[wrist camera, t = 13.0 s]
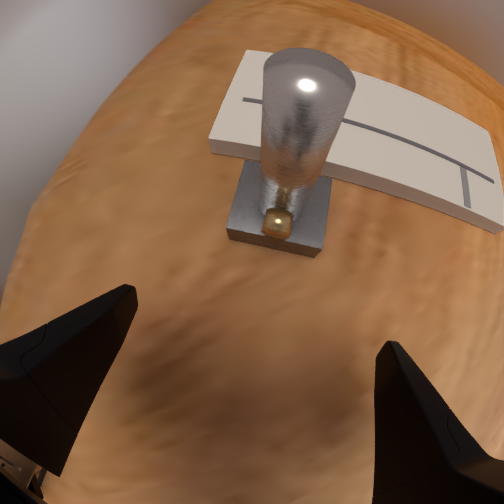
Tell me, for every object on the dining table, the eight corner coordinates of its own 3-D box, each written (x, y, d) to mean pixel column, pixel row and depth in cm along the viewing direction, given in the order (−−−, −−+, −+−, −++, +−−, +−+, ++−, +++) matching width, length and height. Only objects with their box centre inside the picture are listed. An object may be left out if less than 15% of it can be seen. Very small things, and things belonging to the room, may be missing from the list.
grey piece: (313, 260, 19) (403, 161, 7) (228, 241, 20) (191, 114, 7) (328, 164, 21) (383, 29, 8) (254, 147, 21) (254, 2, 9)
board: (479, 140, 22) (488, 131, 20) (495, 234, 20) (508, 227, 18) (247, 64, 24) (246, 49, 22) (211, 152, 21) (208, 137, 19)
